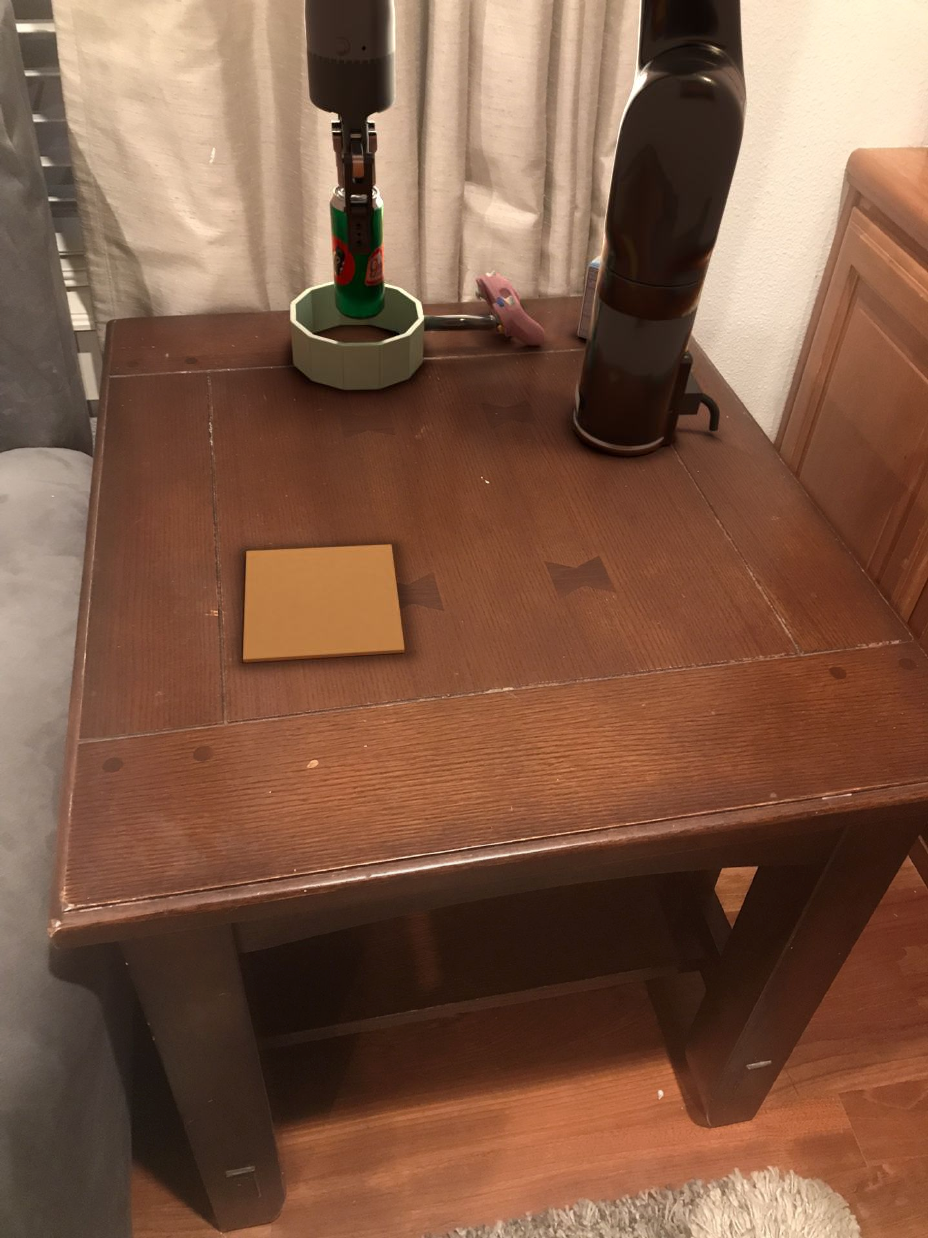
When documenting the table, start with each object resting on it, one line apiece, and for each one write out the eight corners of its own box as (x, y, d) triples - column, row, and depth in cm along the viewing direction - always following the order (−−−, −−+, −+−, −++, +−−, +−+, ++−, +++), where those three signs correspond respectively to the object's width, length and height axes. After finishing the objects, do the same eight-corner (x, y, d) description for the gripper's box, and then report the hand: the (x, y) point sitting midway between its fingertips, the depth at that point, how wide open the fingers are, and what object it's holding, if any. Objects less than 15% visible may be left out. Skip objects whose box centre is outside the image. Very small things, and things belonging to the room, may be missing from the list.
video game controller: (485, 319, 111) (463, 270, 106) (519, 299, 111) (499, 249, 106) (513, 363, 105) (491, 314, 100) (550, 342, 104) (529, 292, 99)
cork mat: (391, 547, 80) (391, 544, 80) (404, 652, 72) (404, 649, 72) (246, 554, 79) (246, 550, 79) (243, 662, 71) (242, 659, 70)
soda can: (377, 325, 96) (375, 205, 87) (329, 318, 96) (321, 198, 88) (390, 301, 99) (389, 184, 91) (343, 295, 100) (338, 177, 91)
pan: (485, 320, 108) (488, 278, 105) (504, 386, 99) (509, 342, 95) (292, 322, 105) (289, 280, 102) (294, 391, 96) (290, 346, 92)
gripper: (402, 69, 76) (402, 273, 88) (388, 19, 86) (390, 208, 98) (307, 68, 75) (321, 274, 87) (304, 17, 85) (316, 209, 97)
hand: (357, 238), depth 92 cm, fingers closed on soda can, 5 cm apart
